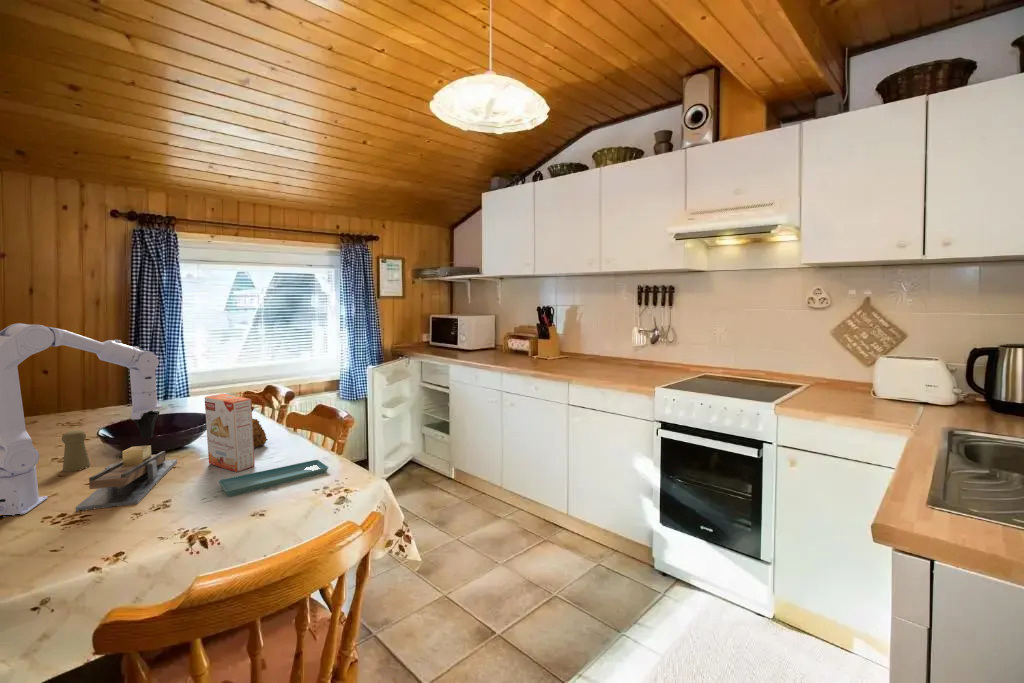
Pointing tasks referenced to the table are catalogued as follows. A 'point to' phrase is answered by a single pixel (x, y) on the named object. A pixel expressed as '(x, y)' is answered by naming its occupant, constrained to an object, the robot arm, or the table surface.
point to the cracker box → (229, 432)
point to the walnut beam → (122, 473)
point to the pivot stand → (127, 488)
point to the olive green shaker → (75, 451)
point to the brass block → (136, 455)
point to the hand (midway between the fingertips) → (147, 437)
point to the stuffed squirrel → (258, 433)
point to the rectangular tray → (270, 477)
